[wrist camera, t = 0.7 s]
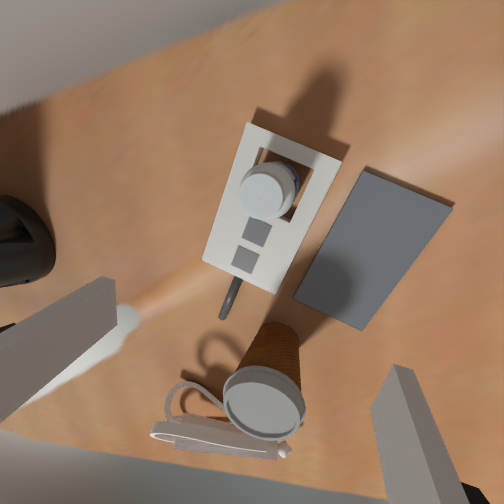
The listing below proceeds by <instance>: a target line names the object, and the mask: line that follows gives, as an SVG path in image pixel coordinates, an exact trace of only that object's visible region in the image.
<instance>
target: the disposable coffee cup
mask: <svg viewBox="0 0 504 504" xmlns="http://www.w3.org/2000/svg"><path fill="white" fill-rule="evenodd" d="M298 346H299V345H298V338H297V335H296V334H295V332H294V331H293V330H292V329H290V328H289V327H288V326H285V325H283V324H280V323H269V324H266V325H264V326H262V327H261V328H260V330H259V331H258V333H257V335H256V337H255V338H254V340H253V342H252V343H251V345H250V347H249V349H248V350H247V352H246V354H245V355H244V357H243V359H242V361H241V362H240V364H239V366H238V368H237V369H236V371H235V372H234V373H233V374H232V375H231V376H230V377H229V378H228V379H227V381H226V383H225V384H224V388H223V398H224V399H223V406H224V410H225V413H226V415H227V417H228V418H229V419H230V421H231V422H232V423H233V424H234V425H235V426H236V427H237V428H238V429H240V430H241V431H243V432H244V433H246V434H248V435H250V436H252V437H255V438H258V439H262V440H267V441H279V440H283V439H286V438H289V437H290V436H292V435H293V434H294V433H296V431H297V430H298V428H299V425H300V424H301V422H302V421H303V419H304V417H305V410H306V407H305V402H304V399H303V397H302V394H301V382H300V381H301V379H300V363H299V362H300V361H299V347H298Z"/></svg>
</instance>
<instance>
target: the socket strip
mask: <svg viewBox="0 0 504 504" xmlns="http://www.w3.org/2000/svg"><path fill="white" fill-rule="evenodd" d="M262 148H265V149H267V150H270V151H272V152H274V153H277V154H279V155H282V156H284V157H286V158H289V159H291V160H293V161H296V162H298V163H300V164H303V165H305V166H307V167H310V168H312V169H314V172H313V174H312V176H311V179H310V181H309V183H308V185H307V187H306V189H305V191H304V194H303V196H302V198H301V200H300V202H299V204H298V206H297V209H296V211H295V213H294V215H293V217H292V219H291V220H290V219H288V218H286V217H284V216H280V217H279V218H276V219H272V220H263V219H262V220H260V219H255V218H252V217H250V216H249V215H247V214H246V213H245V212H244V211H243V209H242V208H241V206H240V204H239V199H238V192H239V188H240V185H241V181H242V179H243V177H244V175H245V174H246V173H247V172H248V170H250V169H251V168H252V167H254V166H256V164H257V162H258V159H259V156H260V153H261V151H262ZM341 164H342V161H339V160H337V159H334V158H332V157H330V156H327V155H325V154H322V153H320V152H318V151H315V150H313V149H311V148H308V147H306V146H303V145H301V144H299V143H296V142H294V141H292V140H289V139H287V138H284V137H282V136H280V135H277V134H275V133H272V132H270V131H268V130H265V129H263V128H261V127H258V126H256V125H253V124H251V123H249V122H247V123H246V126H245V129H244V132H243V135H242V139H241V142H240V145H239V148H238V151H237V154H236V157H235V160H234V163H233V166H232V169H231V172H230V175H229V178H228V181H227V184H226V187H225V190H224V193H223V197H222V200H221V203H220V206H219V209H218V212H217V215H216V218H215V221H214V224H213V227H212V230H211V233H210V236H209V239H208V242H207V245H206V248H205V251H204V255H203V258H202V260H203V261H205V262H207V263H209V264H211V265H214V266H216V267H218V268H220V269H222V270H224V271H226V272H228V273H230V274H233V275H235V276H234V279H233V281H232V283H231V286H230V288H229V291H228V293H227V296H226V298H225V301H224V303H223V306H222V308H221V311H220V313H219V319H220V320H225V319H226V317H227V315H228V312H229V310H230V308H231V305H232V303H233V300H234V298H235V296H236V293H237V291H238V289H239V286H240V284H241V282H242V279H243V280H245V281H247V282H249V283H251V284H254V285H256V286H258V287H260V288H262V289H264V290H266V291H268V292H270V293H272V294H276V292H277V290H278V288H279V286H280V284H281V282H282V280H283V278H284V276H285V274H286V272H287V270H288V268H289V266H290V264H291V262H292V260H293V258H294V256H295V254H296V252H297V250H298V248H299V246H300V244H301V243H302V241H303V239H304V237H305V235H306V233H307V231H308V229H309V227H310V225H311V223H312V221H313V219H314V217H315V215H316V213H317V211H318V209H319V207H320V205H321V203H322V201H323V199H324V197H325V195H326V193H327V191H328V189H329V187H330V185H331V183H332V181H333V179H334V177H335V175H336V173H337V171H338V169H339V167H340V165H341Z"/></svg>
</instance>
